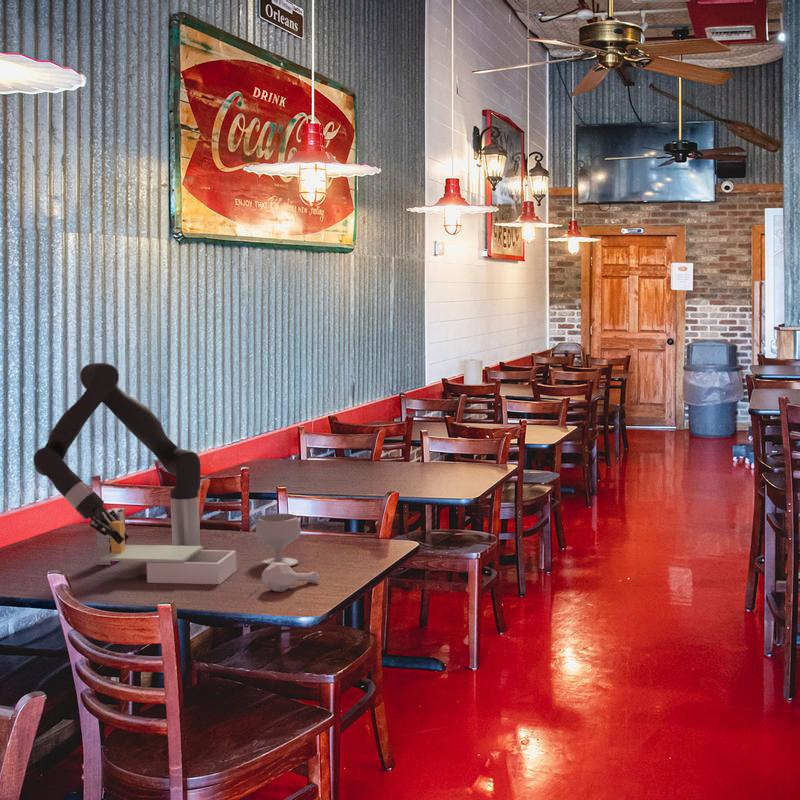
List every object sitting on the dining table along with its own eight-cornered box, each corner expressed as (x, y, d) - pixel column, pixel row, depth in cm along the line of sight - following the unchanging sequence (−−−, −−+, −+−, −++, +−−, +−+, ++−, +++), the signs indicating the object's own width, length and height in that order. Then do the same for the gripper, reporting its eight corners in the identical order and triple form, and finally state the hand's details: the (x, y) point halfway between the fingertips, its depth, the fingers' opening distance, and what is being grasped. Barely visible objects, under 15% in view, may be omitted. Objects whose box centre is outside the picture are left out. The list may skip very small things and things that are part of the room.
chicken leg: (326, 588, 300) (323, 560, 302) (275, 588, 288) (272, 558, 290) (309, 594, 305) (306, 566, 308) (258, 594, 293) (255, 565, 296)
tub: (167, 571, 318) (167, 549, 318) (236, 573, 315) (236, 550, 314) (147, 585, 302) (146, 562, 302) (219, 587, 299) (218, 563, 298)
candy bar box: (113, 557, 339) (111, 507, 337) (127, 557, 338) (125, 507, 336) (96, 565, 328) (94, 514, 326) (111, 566, 327) (109, 514, 325)
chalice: (304, 568, 320) (302, 520, 318) (258, 571, 317) (257, 523, 315) (298, 557, 333) (297, 511, 332) (255, 560, 330) (253, 514, 329)
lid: (125, 547, 320) (124, 515, 319) (202, 548, 316) (201, 517, 315) (101, 560, 303) (100, 527, 303) (182, 562, 300) (181, 529, 299)
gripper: (81, 495, 304) (122, 537, 303) (102, 487, 318) (141, 526, 317) (65, 513, 305) (106, 554, 305) (86, 504, 319) (126, 543, 318)
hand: (124, 540), depth 311 cm, fingers closed on lid, 3 cm apart
